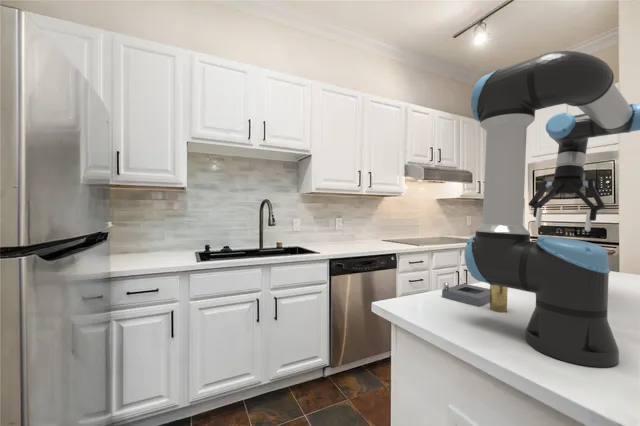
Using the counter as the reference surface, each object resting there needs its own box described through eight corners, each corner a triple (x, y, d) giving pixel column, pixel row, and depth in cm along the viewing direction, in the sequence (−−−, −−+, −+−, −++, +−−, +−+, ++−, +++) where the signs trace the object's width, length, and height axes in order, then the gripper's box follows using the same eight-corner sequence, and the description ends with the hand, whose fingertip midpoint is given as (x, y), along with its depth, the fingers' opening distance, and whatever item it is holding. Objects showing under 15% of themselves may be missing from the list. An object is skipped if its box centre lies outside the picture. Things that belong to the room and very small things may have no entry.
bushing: (503, 313, 84) (504, 271, 84) (486, 309, 88) (487, 268, 88) (509, 310, 87) (510, 269, 87) (493, 306, 91) (494, 266, 90)
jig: (479, 306, 90) (479, 291, 90) (441, 296, 100) (441, 283, 100) (499, 298, 98) (499, 285, 98) (462, 290, 108) (462, 277, 108)
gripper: (623, 168, 94) (614, 234, 92) (531, 172, 114) (523, 227, 113) (617, 160, 90) (608, 230, 88) (523, 166, 110) (515, 223, 108)
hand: (560, 228), depth 100 cm, fingers open, 13 cm apart
